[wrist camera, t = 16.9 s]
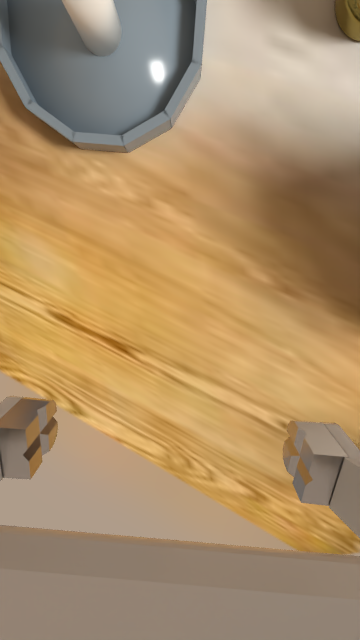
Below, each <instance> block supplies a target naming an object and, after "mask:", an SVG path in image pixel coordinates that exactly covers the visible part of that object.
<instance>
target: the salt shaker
mask: <svg viewBox="0 0 360 640" xmlns="http://www.w3.org/2000/svg"><path fill="white" fill-rule="evenodd" d="M335 12H336V18H337V21H338V24H339V26H340V28H341V29H342V31H343V32H344V33H345V34H346V35H347V36H348V37H350V38H352V39H354V40H357V41H360V0H335Z"/></svg>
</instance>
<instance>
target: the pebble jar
mask: <svg viewBox="0 0 360 640" xmlns="http://www.w3.org/2000/svg"><path fill="white" fill-rule="evenodd" d="M62 2H63V4H64V6H65V8H66V10H67V12H68V13H69V15H70V17H71V19H72V21H73V23H74V25H75V27H76V29H77V31H78V32H79V34H80V36H81V38H82V40H83V42H84V44H85V46H86V47H87V48H88V50H89V51H90V52H92V53H93V54H95V55H97V56H108V55H110V54H112V53H113V52H114V51H115V50H116V49H117V47H118V46H119V43H120V40H121V34H122V31H121V24H120V20H119V17H118V14H117V11H116V8H115V4H114V1H113V0H62Z"/></svg>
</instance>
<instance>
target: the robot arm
mask: <svg viewBox="0 0 360 640" xmlns="http://www.w3.org/2000/svg"><path fill="white" fill-rule="evenodd" d="M56 411H57V409H56V402H55V401H54V400H46V399H37V398H27V397H17V396H9V397H6V398H5V399H4V400H3V401H2V402H1V403H0V481H1V480H2V479H3V478H16V479H17V478H18V479H31V478H32V476H33V475H34V474H35V472H36V470H37V469H38V468H39V466H40V465H41V463H42V455H44V454H45V453H47V452H49V451H50V449H51V448H52V446H53V444H54V442H55V439H56V436H57V430H58V424H57V421H56V420H55V418H54V417H53V415H54V414H55V413H56ZM287 432H288V434H289V436H290V437H289V438H288V439H287V440H285V441H284V446H283V460H284V464H285V467H286V469H287V471H288V472H289V473H290V474H291V475H292V476H293V477H294V480H293V485H294V488H295V490H296V492H297V494H298V497H299V499H300V501H301V503H309V504H318V505H326V506H329V508H330V509H331V510H332V511H333V512H334V513H335V514H336V515H337V516H338V517H339V518H340V519H341V520H342V521H343V522H344V523H345V524H346V525H347V526H348V527H349V528H350V529H351V530H352V531H353V532H354V533H355V534H356V535H357V536H358V537H359V538H360V450H359V449H358V448H357V447H356V445H355V444H354V443H353V442H352V441H351V439H350V438H349V437H348V436H347V434H346V433H345V432H344V431H343V430H342V428H341V427H340V426H339V425H337V424H336V423H323V422H320V423H316V422H303V421H290V423H289V424H288V428H287ZM0 640H360V556H351V555H339V554H327V553H316V552H304V551H293V550H281V549H269V548H259V547H248V546H236V545H225V544H214V543H201V542H189V541H179V540H167V539H156V538H144V537H133V536H121V535H109V534H98V533H85V532H75V531H63V530H51V529H40V528H29V527H17V526H6V525H0Z"/></svg>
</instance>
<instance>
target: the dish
mask: <svg viewBox="0 0 360 640" xmlns="http://www.w3.org/2000/svg"><path fill="white" fill-rule="evenodd" d="M113 1H114V4H115V8H116V11H117V14H118V17H119V20H120V24H121V31H122V34H121V40H120V43H119V46H118V47H117V49H116V50H115V51H114V52H113V53H112V54H110V55H108V56H97V55H95V54H93V53H92V52H90V51H89V50H88V48H87V47H86V46H85V44H84V42H83V40H82V38H81V36H80V34H79V32H78V31H77V29H76V27H75V25H74V23H73V21H72V19H71V17H70V15H69V13H68V12H67V10H66V8H65V6H64V4H63V2H62V0H0V61H1V63H2V65H3V67H4V69H5V71H6V72H7V74H8V76H9V78H10V80H11V82H12V84H13V85H14V87H15V89H16V91H17V93H18V95H19V97H20V98H21V100H22V102H23V104H24V106H25V107H26V108H27V109H28V110H29V111H30V112H32V113H33V114H34V115H35V116H36V117H38V118H39V119H40V120H42V121H43V122H44V123H46V124H47V125H49V126H50V127H51V128H53V129H54V130H55V131H57V132H58V133H59V134H61V135H62V136H64V137H65V138H66V139H68V140H69V141H70V142H72V143H73V144H75V145H76V146H77V147H79V148H80V149H87V150H99V151H112V152H124V153H128V152H131V151H133V150H134V149H136V148H138V147H140V146H141V145H143V144H145V143H147V142H148V141H150V140H152V139H154V138H155V137H157V136H159V135H161V134H163V133H164V132H166V131H168V130H170V129H171V128H172V127H173V125H174V123H175V122H176V120H177V118H178V116H179V115H180V113H181V111H182V109H183V108H184V106H185V104H186V103H187V101H188V99H189V97H190V96H191V94H192V92H193V90H194V89H195V87H196V85H197V84H198V82H199V80H200V78H201V66H202V54H203V42H204V29H205V17H206V5H207V0H113Z"/></svg>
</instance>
